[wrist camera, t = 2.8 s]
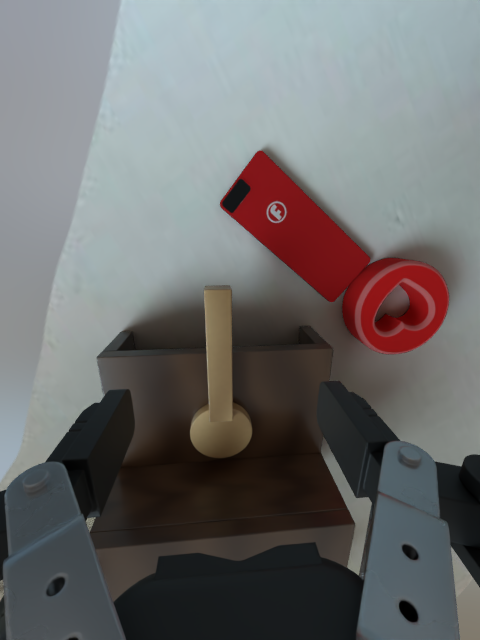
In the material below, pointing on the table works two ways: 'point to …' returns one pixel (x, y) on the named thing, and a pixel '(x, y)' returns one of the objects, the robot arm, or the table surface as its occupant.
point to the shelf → (219, 461)
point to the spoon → (220, 384)
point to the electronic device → (294, 227)
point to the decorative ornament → (388, 331)
